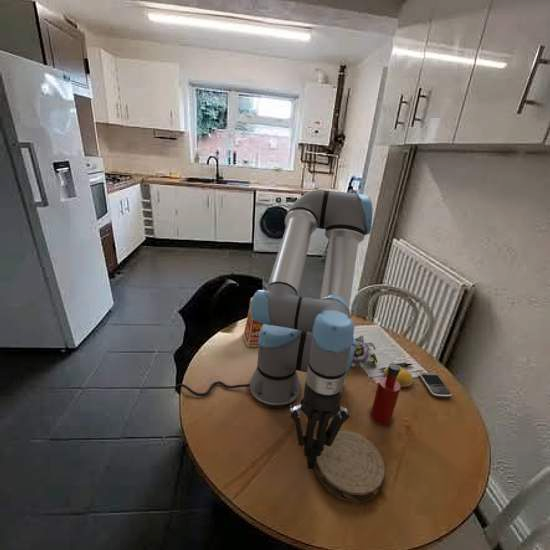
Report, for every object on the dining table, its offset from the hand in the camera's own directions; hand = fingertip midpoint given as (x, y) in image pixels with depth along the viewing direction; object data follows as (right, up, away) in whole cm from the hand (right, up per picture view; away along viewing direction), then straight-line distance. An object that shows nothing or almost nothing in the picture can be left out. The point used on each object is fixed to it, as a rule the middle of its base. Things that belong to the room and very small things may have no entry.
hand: (310, 463), depth 72 cm
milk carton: (-15, +19, +47) cm, 53 cm away
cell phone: (+44, +7, +30) cm, 54 cm away
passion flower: (+22, +13, +40) cm, 47 cm away
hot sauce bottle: (+22, +3, +16) cm, 28 cm away
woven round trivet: (+9, -2, +1) cm, 9 cm away
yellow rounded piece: (+33, +9, +32) cm, 47 cm away
